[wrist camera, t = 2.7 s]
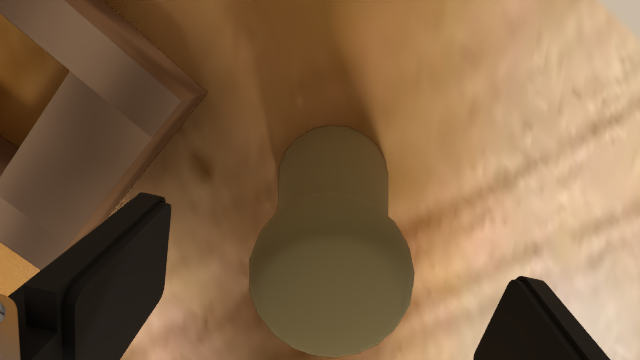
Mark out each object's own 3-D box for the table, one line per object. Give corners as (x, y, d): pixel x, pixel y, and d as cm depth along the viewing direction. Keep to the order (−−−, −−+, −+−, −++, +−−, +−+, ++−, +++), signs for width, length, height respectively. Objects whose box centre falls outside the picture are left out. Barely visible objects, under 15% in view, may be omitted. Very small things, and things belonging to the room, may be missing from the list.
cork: (339, 101, 20) (342, 159, 9) (410, 185, 21) (484, 320, 10) (256, 173, 21) (177, 295, 11) (327, 248, 22) (319, 420, 12)
